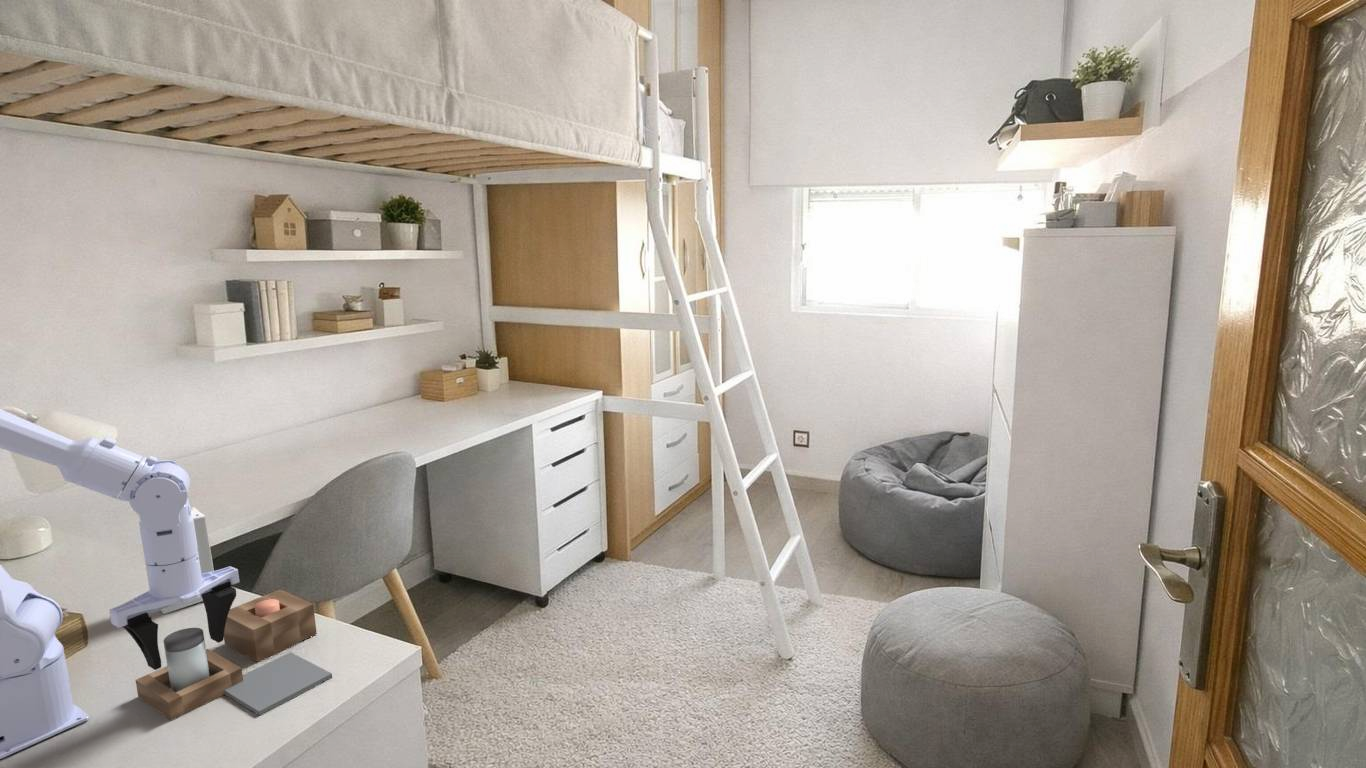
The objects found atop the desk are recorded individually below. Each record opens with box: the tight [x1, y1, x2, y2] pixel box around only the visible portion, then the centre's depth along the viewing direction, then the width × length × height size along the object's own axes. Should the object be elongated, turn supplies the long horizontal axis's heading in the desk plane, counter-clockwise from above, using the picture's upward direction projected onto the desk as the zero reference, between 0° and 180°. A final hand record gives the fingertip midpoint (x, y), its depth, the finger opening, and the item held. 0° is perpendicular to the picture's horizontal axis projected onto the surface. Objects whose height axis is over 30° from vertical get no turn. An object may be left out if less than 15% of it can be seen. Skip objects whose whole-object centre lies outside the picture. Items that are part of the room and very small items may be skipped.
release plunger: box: [255, 599, 280, 618], centre depth 114 cm, size 3×3×5 cm
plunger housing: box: [223, 589, 317, 663], centre depth 115 cm, size 9×9×5 cm
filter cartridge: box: [163, 627, 210, 692], centre depth 102 cm, size 4×4×8 cm
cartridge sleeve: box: [135, 648, 244, 721], centre depth 102 cm, size 9×9×2 cm
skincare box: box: [138, 506, 215, 615], centre depth 126 cm, size 8×6×15 cm
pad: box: [224, 651, 333, 716], centre depth 104 cm, size 10×10×1 cm
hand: (186, 652), depth 101 cm, fingers open, 7 cm apart
